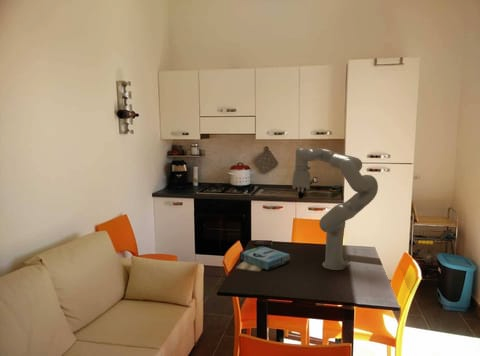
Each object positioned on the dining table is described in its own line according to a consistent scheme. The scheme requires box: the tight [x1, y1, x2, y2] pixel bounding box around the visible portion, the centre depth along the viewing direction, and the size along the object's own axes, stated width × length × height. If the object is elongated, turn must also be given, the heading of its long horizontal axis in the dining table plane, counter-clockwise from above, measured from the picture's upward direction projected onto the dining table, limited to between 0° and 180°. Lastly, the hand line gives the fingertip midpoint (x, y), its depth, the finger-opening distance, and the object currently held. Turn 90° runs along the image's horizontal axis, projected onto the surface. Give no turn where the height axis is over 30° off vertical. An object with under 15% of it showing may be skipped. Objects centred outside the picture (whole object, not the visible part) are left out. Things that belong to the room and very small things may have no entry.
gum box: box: [239, 245, 291, 271], centre depth 221 cm, size 20×5×23 cm
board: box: [235, 261, 264, 273], centre depth 218 cm, size 14×22×1 cm, turn 158°
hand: (300, 198), depth 225 cm, fingers closed
